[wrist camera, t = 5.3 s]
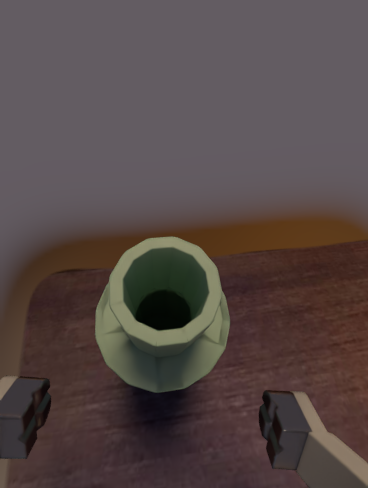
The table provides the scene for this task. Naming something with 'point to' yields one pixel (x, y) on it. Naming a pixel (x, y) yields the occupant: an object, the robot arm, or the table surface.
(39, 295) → the table surface
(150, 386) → the bottle
